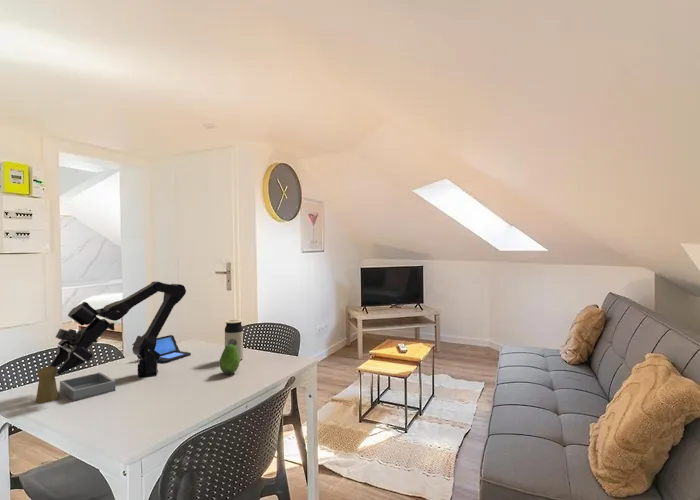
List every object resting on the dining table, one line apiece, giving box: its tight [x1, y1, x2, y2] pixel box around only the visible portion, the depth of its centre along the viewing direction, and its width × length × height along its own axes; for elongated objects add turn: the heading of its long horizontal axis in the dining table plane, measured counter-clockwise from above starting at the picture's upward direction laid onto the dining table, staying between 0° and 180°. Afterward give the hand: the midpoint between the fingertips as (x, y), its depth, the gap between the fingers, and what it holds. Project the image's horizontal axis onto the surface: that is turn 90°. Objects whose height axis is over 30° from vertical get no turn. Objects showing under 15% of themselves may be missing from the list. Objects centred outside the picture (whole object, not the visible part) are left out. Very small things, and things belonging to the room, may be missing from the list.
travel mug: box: [224, 318, 244, 361], centre depth 174 cm, size 8×8×18 cm
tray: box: [59, 371, 116, 402], centre depth 136 cm, size 16×13×4 cm
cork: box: [35, 365, 59, 404], centre depth 128 cm, size 6×6×11 cm
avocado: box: [219, 344, 241, 375], centre depth 154 cm, size 8×8×12 cm
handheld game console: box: [155, 334, 192, 364], centre depth 178 cm, size 16×13×9 cm
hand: (54, 370), depth 129 cm, fingers open, 9 cm apart
